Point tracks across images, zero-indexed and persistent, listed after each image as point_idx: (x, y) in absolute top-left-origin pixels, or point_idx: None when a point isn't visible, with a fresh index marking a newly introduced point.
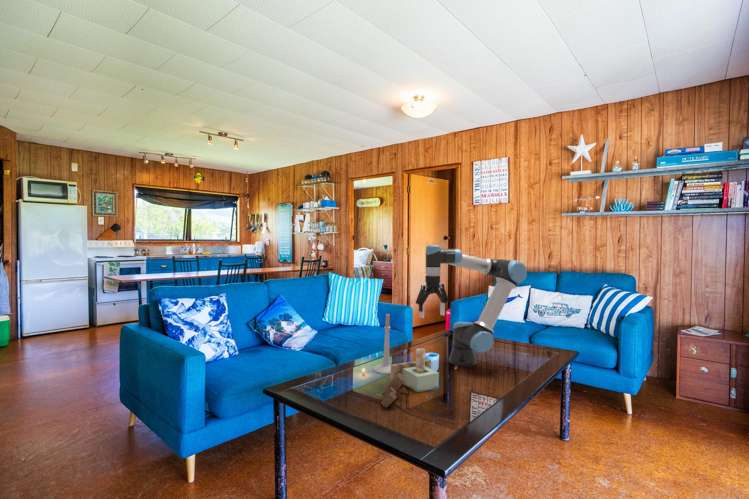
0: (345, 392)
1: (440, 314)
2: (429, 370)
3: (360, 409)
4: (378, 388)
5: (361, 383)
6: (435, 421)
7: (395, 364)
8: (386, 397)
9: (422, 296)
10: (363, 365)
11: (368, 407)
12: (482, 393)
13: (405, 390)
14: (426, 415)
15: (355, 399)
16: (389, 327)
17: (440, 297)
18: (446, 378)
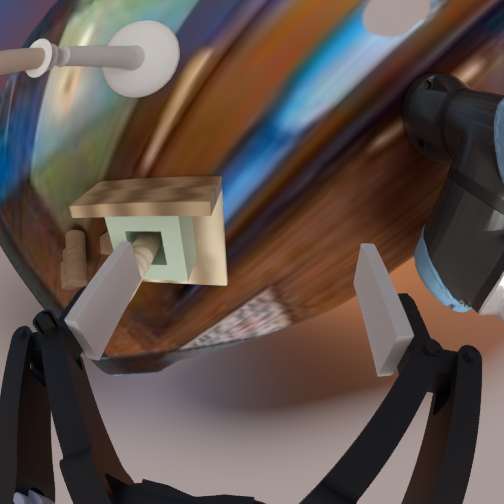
0: (19, 183)
1: (361, 250)
2: (172, 257)
3: (37, 255)
4: (72, 185)
5: (48, 144)
6: (129, 329)
7: (80, 209)
8: (61, 279)
9: (45, 427)
10: (100, 5)
11: (47, 254)
12: (285, 301)
13: (106, 253)
14: (123, 314)
15: (31, 219)
16: (41, 71)
17: (360, 433)
18: (281, 196)
